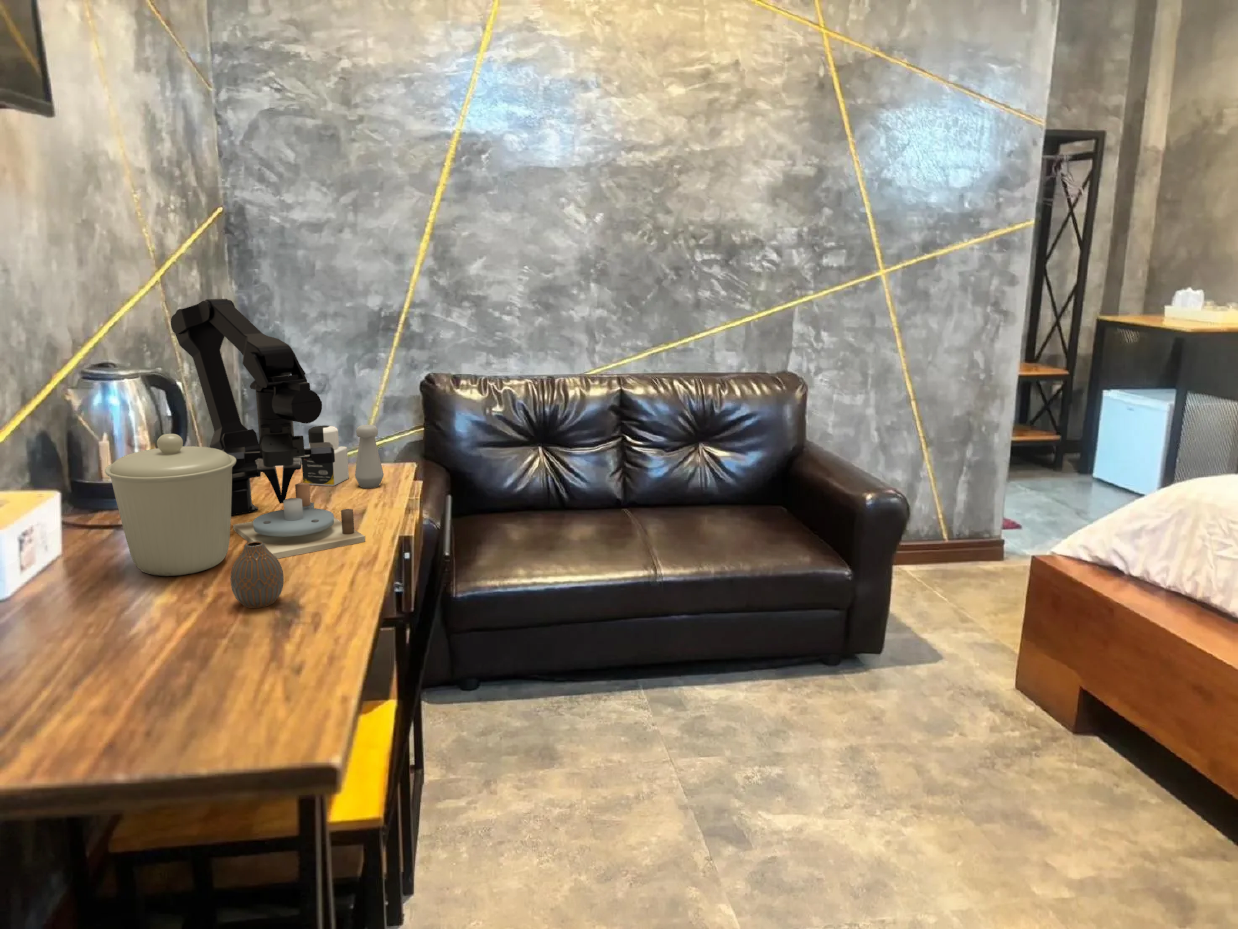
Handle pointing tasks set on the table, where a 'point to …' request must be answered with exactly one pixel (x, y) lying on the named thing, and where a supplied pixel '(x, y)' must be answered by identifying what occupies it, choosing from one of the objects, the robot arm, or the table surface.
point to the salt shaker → (368, 458)
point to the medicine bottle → (328, 471)
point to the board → (306, 537)
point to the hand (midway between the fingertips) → (281, 502)
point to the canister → (174, 506)
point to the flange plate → (294, 525)
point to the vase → (256, 576)
